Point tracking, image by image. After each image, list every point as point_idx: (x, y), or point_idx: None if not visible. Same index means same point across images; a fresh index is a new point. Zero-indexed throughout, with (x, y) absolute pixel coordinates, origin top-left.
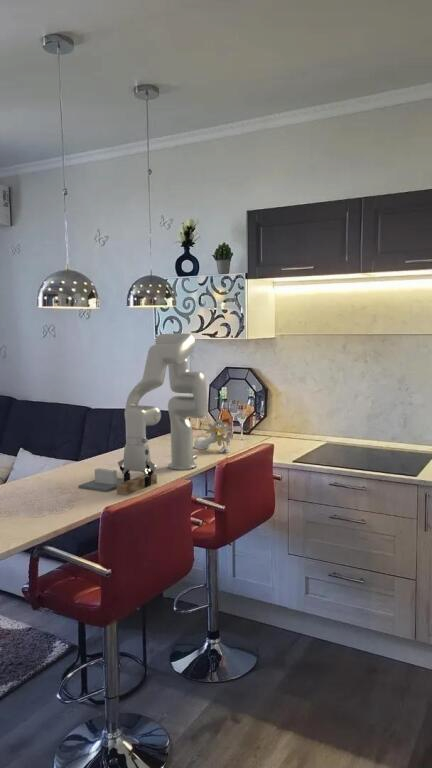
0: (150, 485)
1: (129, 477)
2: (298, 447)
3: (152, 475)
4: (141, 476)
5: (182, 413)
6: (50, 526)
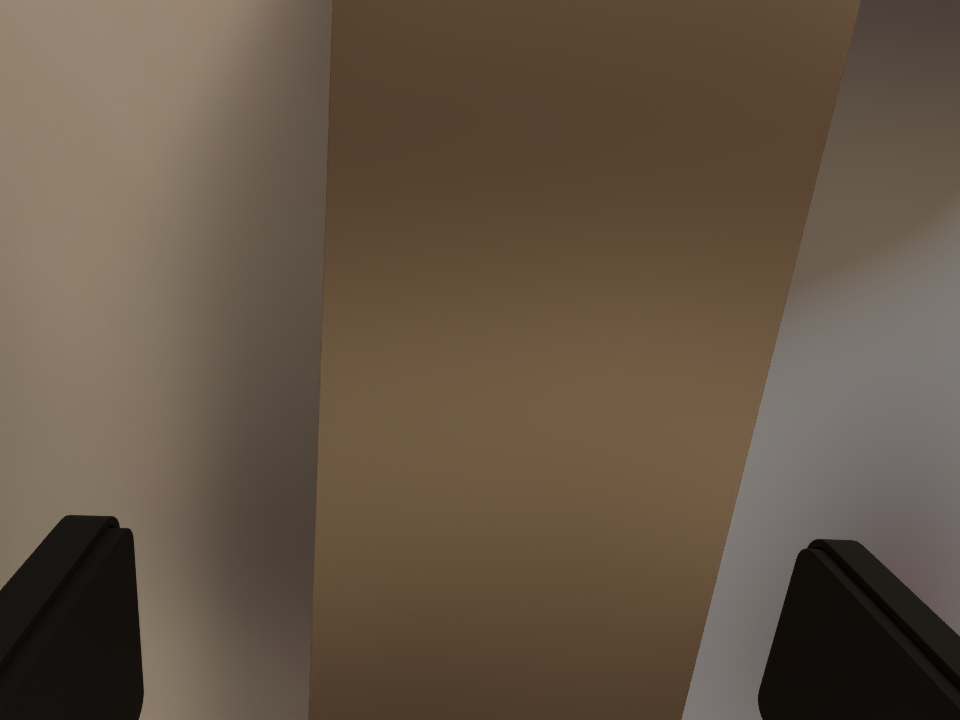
0: (847, 552)
1: (48, 680)
2: None
3: (838, 49)
4: (421, 388)
5: None
6: None
